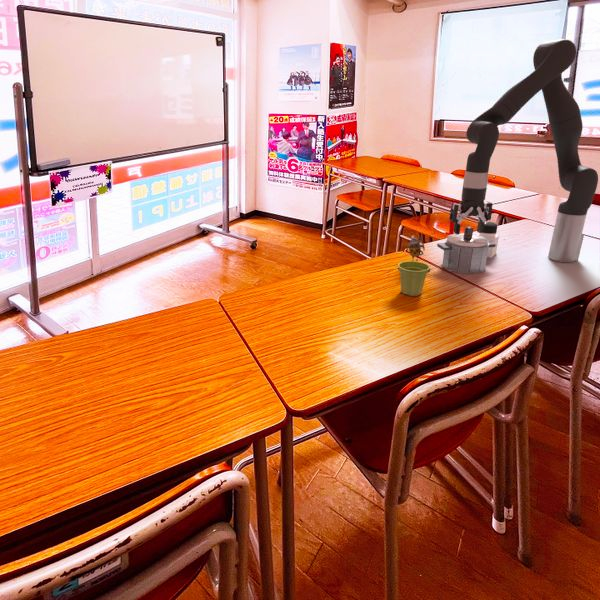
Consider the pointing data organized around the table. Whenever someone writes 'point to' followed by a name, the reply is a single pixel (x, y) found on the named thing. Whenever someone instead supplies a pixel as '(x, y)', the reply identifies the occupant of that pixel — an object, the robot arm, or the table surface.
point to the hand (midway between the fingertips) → (468, 233)
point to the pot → (464, 258)
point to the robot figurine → (415, 248)
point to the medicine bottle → (490, 237)
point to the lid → (467, 239)
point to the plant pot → (412, 277)
